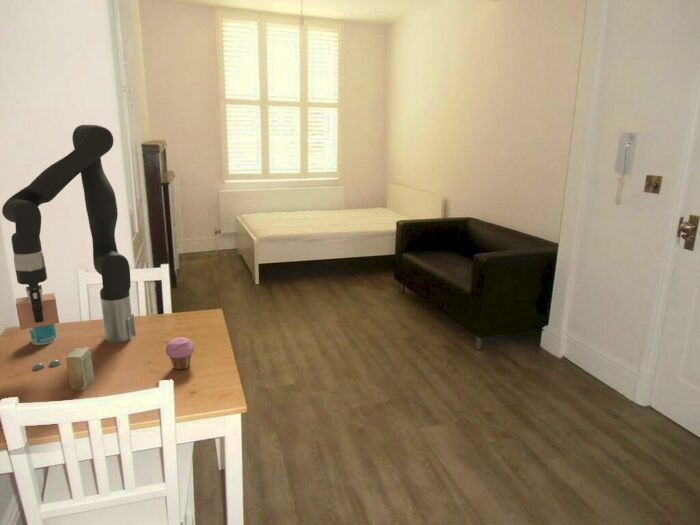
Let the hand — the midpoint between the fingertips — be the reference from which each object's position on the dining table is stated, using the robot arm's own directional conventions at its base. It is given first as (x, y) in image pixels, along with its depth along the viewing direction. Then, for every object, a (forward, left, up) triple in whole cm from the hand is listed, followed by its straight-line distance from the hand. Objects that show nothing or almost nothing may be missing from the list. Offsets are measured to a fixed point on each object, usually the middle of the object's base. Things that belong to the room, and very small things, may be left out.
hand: (38, 318), depth 146 cm
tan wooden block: (0, 0, -2) cm, 2 cm away
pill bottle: (+9, -19, -18) cm, 27 cm away
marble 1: (+2, +2, -16) cm, 16 cm away
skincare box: (-15, +14, -18) cm, 27 cm away
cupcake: (-41, +3, -18) cm, 45 cm away
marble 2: (-2, 0, -16) cm, 16 cm away
